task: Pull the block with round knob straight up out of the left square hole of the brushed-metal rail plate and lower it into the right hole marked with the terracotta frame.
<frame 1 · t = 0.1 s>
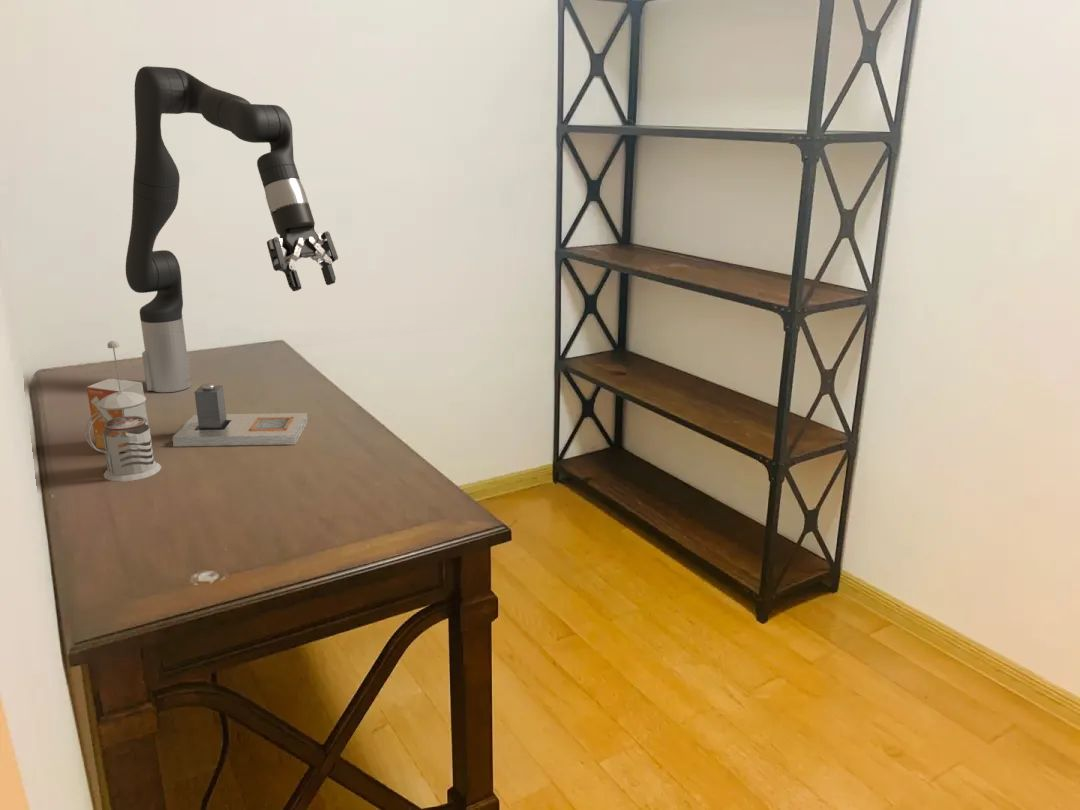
hand: (314, 287, 165), 31 cm above the table, fingers open, 8 cm apart
french press: (127, 473, 155), on the table
block with round knob: (214, 434, 175), resting in rail plate
rail plate: (243, 433, 176), on the table
small box: (124, 446, 168), on the table
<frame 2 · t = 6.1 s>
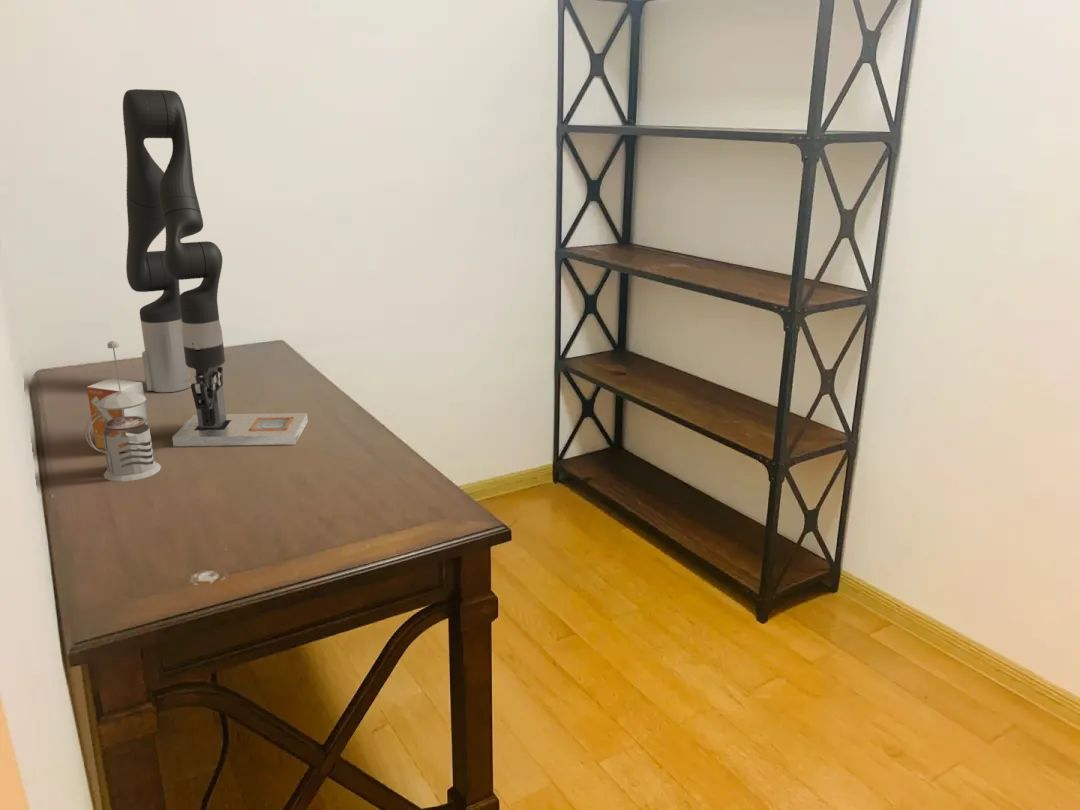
hand: (212, 421, 174), 3 cm above the table, fingers closed on block with round knob, 4 cm apart
block with round knob: (214, 434, 175), resting in rail plate, touching gripper
everything else where it was.
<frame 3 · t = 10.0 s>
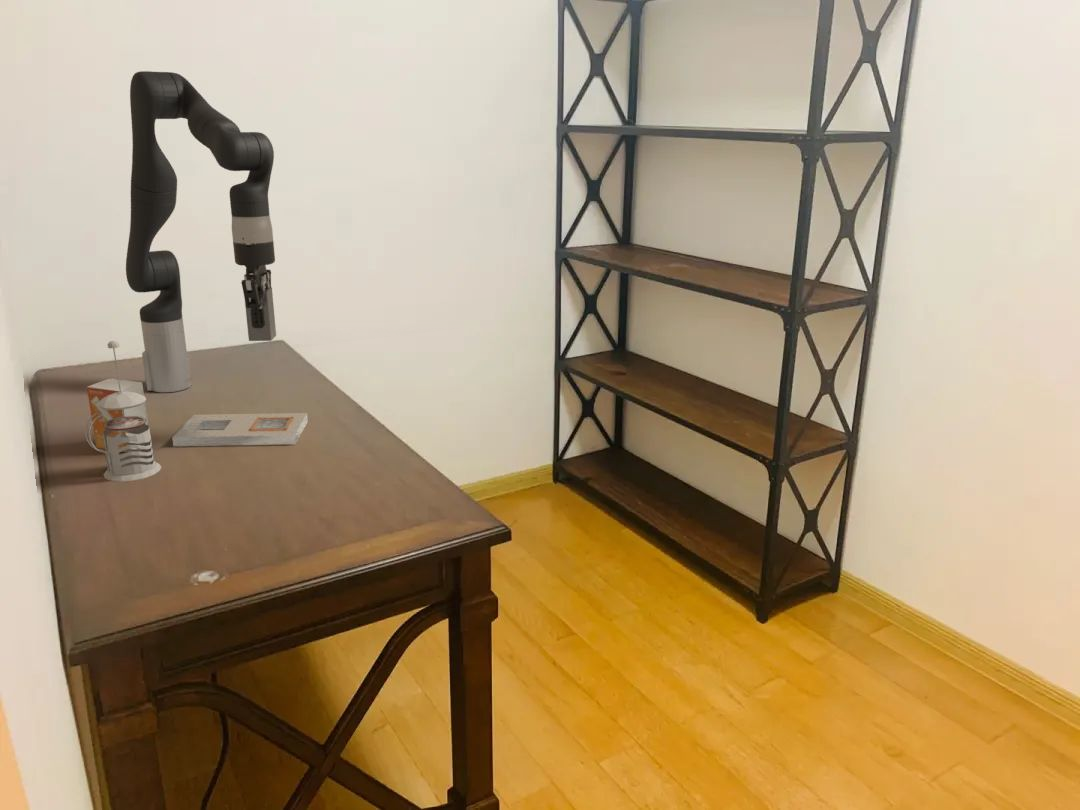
hand: (261, 324, 169), 23 cm above the table, fingers closed on block with round knob, 4 cm apart
block with round knob: (262, 338, 169), point 21 cm above the table, touching gripper
everything else where it was.
when the fingers open (4 cm above the table, at t = 13.9 s): block with round knob drops 1 cm, resting in rail plate.
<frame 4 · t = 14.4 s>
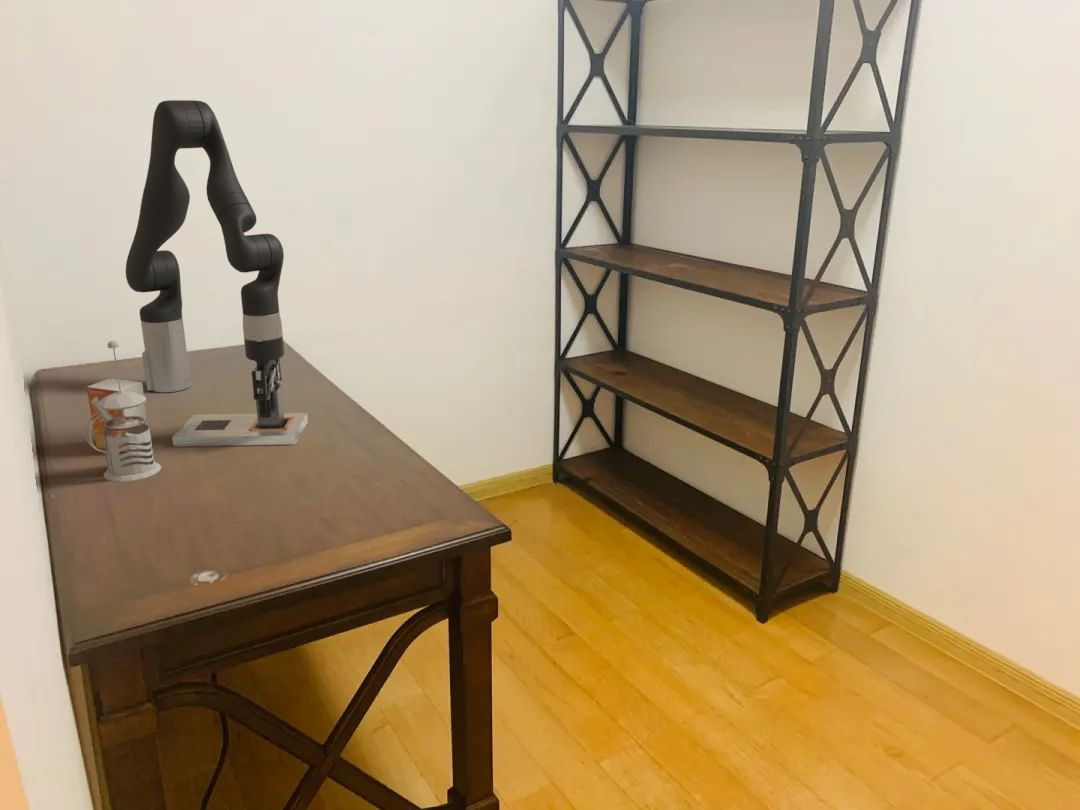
hand: (270, 410, 174), 5 cm above the table, fingers open, 8 cm apart
block with round knob: (272, 433, 176), resting in rail plate
everything else where it was.
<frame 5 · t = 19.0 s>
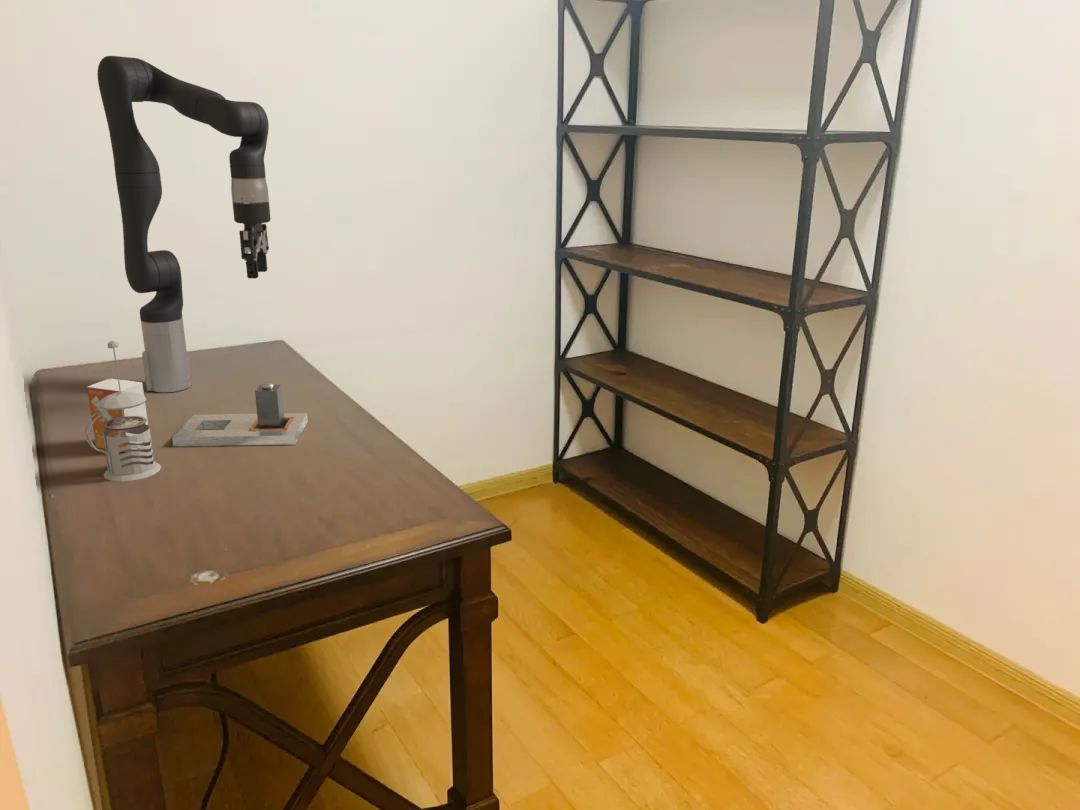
hand: (257, 274, 185), 30 cm above the table, fingers open, 8 cm apart
nothing on the table moved.
at the end: block with round knob 0.1 cm from the target spot on the rail plate, point 0.0 cm above the rail plate's base; block with round knob tilted 0°; the gripper is holding nothing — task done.
